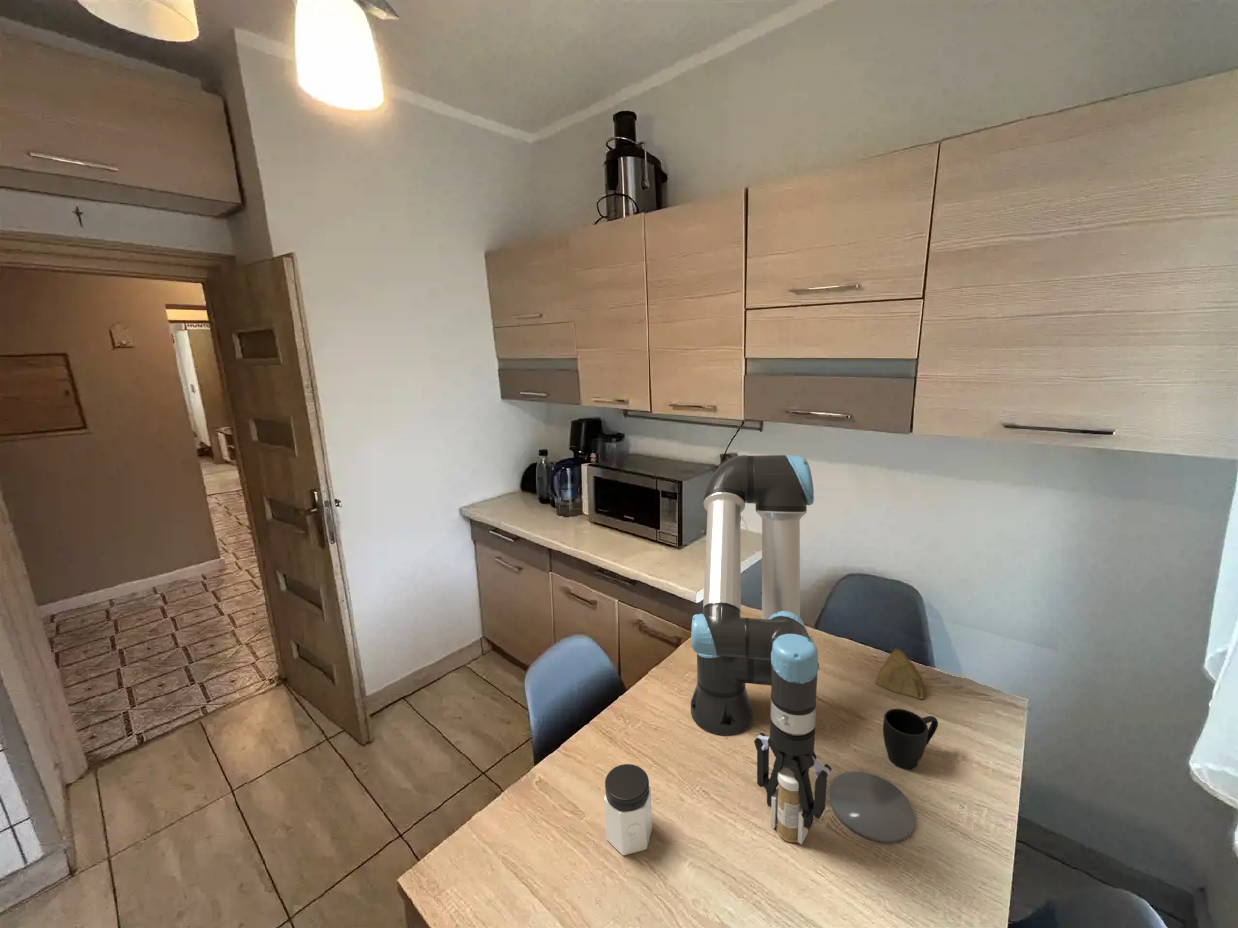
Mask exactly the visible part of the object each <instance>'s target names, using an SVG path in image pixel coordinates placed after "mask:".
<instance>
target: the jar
mask: <svg viewBox="0 0 1238 928" xmlns="http://www.w3.org/2000/svg"><path fill="white" fill-rule="evenodd" d="M604 787H605V795H604V797H603V805H604V806H603V807H604V822H605V823H604V824H605V836H606V837H605V839H606V841H608V843H609V844H610V845H612V846H613V847H614V848H615V849H616V851H618V853H620V855H622V856H627V855H630V854H634V853H639V852H641V851H643V852H644V851H645V850H647V849H648V845H649V843H650V838H651V835H652V831H653V814H652V813H653V812H652V811H653V810H652V809H653V808H652V788H651V786H650V781H649V777H648V774H647V773H646V771H645V769H643V768H641V767H640V766H638V765H635V764H631V763H629V764H628V763H625V764H624V763H623V764H620V765H617V766H615V767H614V768H612V769H611V770H610V771H609V772H608V773H607V775H606V777H605V780H604Z"/></svg>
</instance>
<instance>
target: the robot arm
mask: <svg viewBox="0 0 1238 928" xmlns="http://www.w3.org/2000/svg"><path fill="white" fill-rule="evenodd" d="M811 470H812V469H811V468H810V464H809V462H808V460H807V459H806V458H805V457H803V456H800V455H790V454H784V455H783V454H782V455H781V454H778V455H777V454H775V455H774V454H772V455H747V454H744V455H743V454H742V455H737V456H734V457H730V458H728V459H727V460H726V461H724V462H723V463H722V464H720V466H718V468H717V469H716V470H715V471H714V472H713V474H712V475H711V476H710V477H709V480H708V482H707V483H706V486H705V490H704V494H703V508H704V510H705V511H707V512H706V513H707V514H706V515H707V519H706V541H705V560H704V561H705V562H704V581H703V582H704V583H703V584H704V585H703V599H702V600H703V604H702V613H699V614H698V613H697V614H694V615H693V616H692V621H691V633H690V636H691V637H690V638H691V648H692V650H693V651H694V653H696V671H697V672H696V675H697V676H696V677H697V679H696V680H697V681H696V682H697V683H696V686H695V689H694V691H693V694H692V697H691V700H690V715H692V716H691V718H692V720H693V721H694V722H696V723H695V725H698V726H699V728H701V729H703V730H704V731H706V732H709V733H710V734H715V735H718V736H719V735H720V736H733V735H736V734H740V733H742V732H744V731H745V730H747V729H748V728H749V727H750V726H751V724H752V722H753V711H754V709H753V703H752V701H751V699H750V696H749V693H748V690H747V688H746V686H747V685H746V684H752V685H761V686H763V685H764V686H770V687H771V689H770V690H771V693H770V714H769V715H770V719H769V720H770V721H769V722H770V723H769V736H766V734H765V733H764V732H760V733H759V734H758V736H756V738H755V740H754V746H755V749H756V762H757V763H756V774H757V775H756V783H757V785H758V786H759V788H764V789H765V791H766V803H767V807H769V808H770V827H772V828H774V829H776V827H777V807H778V788H779V787H778V786H779V782H778V772H780V770H781V769H782V767H785V768H788V769H790V770H791V771H792V772H794V777H795V780H797V782H798V783H799V794H800V799H801V804H802V808H801V809H800V811H799V816H798V841H797V843H799V844H800V845H803V842H804V841H805V839H806V837H807V835H808V830H810V829H811V828H812V825H813V823H814V818H815V819H817V820H820V819H821V817H822V815H823V813H824V811H825V810H826V801H827V800H826V799H827V790H828V789H827V786H828V777H829V775H830V773H831V771H832V767H831V765H829V764H827V763H826V764H824V765H823V764H822V763H821V762H820V761H819V760H817V755H816V753H815V741H816V740H815V739H816V722H817V721H816V720H817V719H816V718H817V717H816V715H817V713H816V712H817V690H818V689H817V688H818V687H817V686H818V672H819V669H820V663H819V649H818V648H817V646H816V644H815V642H814V639H813V637H811V635H809V633H808V629H807V628H806V625H805V623H804V621H803V620H802V618H801V615H800V614H801V605H800V604H801V603H800V602H801V599H800V598H801V596H800V594H801V593H800V592H801V587H800V586H801V576H800V575H801V570H800V569H801V565H800V564H801V563H800V561H801V560H800V559H801V557H800V556H801V553H800V552H801V543H800V542H801V541H800V540H801V536H800V535H801V531H800V530H801V529H800V528H801V525H800V524H801V519H802V518H803V517H804V515H805V516H806V515H807V511H808V510H807V506H810V505H813V504H814V501H815V497H814V494H815V493H814V492H815V491H814V482H813V476H812V471H811ZM746 504H754V505H755V512H756V514H758V515H759V517H761V524H762V525H761V527H762V528H761V618H754V617H742V616H741V605H742V604H741V600H742V599H741V595H742V594H741V589H742V588H741V586H742V585H741V573H742V572H741V571H742V570H741V565H742V564H741V561H742V560H741V559H742V557H741V555H742V554H741V552H742V551H741V550H742V549H741V545H742V543H741V535H742V533H741V532H742V531H741V530H742V529H741V521H742V520H741V517H742V515H741V513H743V511H744V510H745V509H746ZM770 750H771V752H772V753H773V755H774V757H775V760H774V762H773V765H772V766H773V768H772V771H771V773H770ZM811 768H813V770H814V777H815V778H816V779H815V781H814V795H813V790H812V784H811V780H810V774H809V773H810V769H811Z"/></svg>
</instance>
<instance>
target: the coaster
mask: <svg viewBox="0 0 1238 928" xmlns="http://www.w3.org/2000/svg"><path fill="white" fill-rule="evenodd" d="M828 801H829V805H830V807H831V809H832V811H833V813H834V815H835V816H836V817H837V819H838V821H840V822H841V823H842V825H844V826H845V827H846V828H847V829H849V830H850V831H851V832H853V833H854V834H856V835H858V836H860V837H862V838H864V839H866V840H868V841H873V842H874V843H879V844H897V843H901V842H903V841H905V840H907V839H908V838H909V837H910V836H911V835H912V834H913V832H914V829H915V825H916V823H915V822H916V814H915V810H914V808H913V806H912V803H911V802H910V801H909V799H908V798H907V796H906V795H905V794H904V793H903V792H902V790H900V789H899V788H898V787H897V786H895V784H893V783H892V782H890V781H888V780H886V779H884V778H882V777H880V776H878V775H876V774H872V773H869V772H865V771H855V770H854V771H846V772H842V773H840V774H838V775H837V776H836V777H834V778H833V780H832V781H831V783H830V785H829V790H828Z"/></svg>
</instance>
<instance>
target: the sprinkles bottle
mask: <svg viewBox="0 0 1238 928" xmlns="http://www.w3.org/2000/svg"><path fill="white" fill-rule="evenodd" d="M778 782H779V784H778V786H777V788H778V807H777V825H776V826H775V829H776V833H777V834H778V836H779V837H780V839H782V840H783V841H785V842H788V843H798V816H799V811H800V809H801V808H802V804H801V799H800V794H799V783H798V782H797V780H795V777H794V772H792V771H791V770H790V769H788V768H785V767H782V769H781V770H780V772H778Z"/></svg>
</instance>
